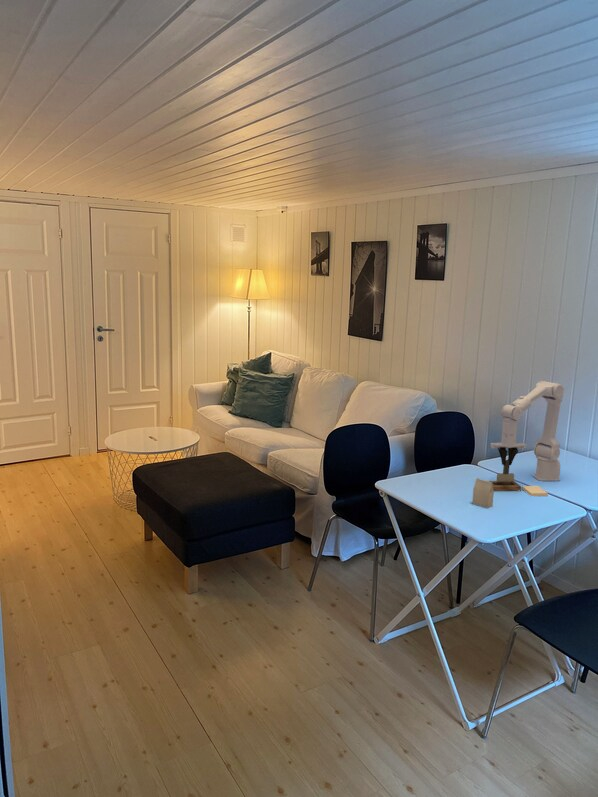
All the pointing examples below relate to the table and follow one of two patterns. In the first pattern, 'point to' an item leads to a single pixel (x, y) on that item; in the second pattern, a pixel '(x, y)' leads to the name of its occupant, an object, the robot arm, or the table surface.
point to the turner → (505, 474)
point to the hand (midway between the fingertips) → (506, 464)
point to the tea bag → (483, 493)
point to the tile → (534, 491)
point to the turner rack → (505, 486)
